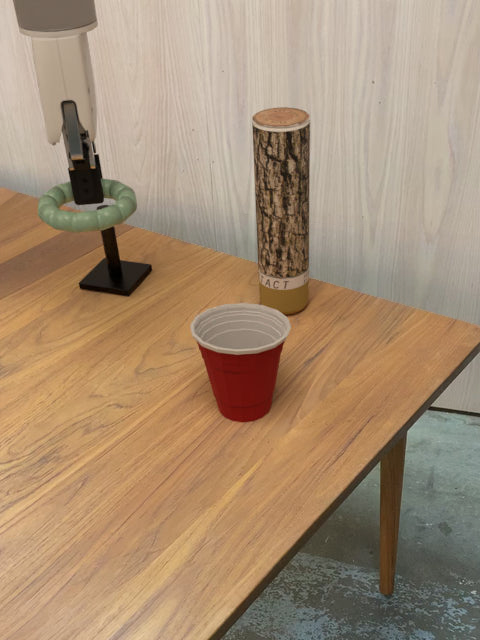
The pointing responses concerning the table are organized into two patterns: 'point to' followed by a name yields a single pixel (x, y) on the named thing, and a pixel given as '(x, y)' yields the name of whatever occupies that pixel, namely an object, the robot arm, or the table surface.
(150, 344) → the table surface
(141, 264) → the ring stand
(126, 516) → the table surface
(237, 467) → the table surface
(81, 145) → the robot arm
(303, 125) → the paper tube
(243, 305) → the plastic cup
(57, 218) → the ring
